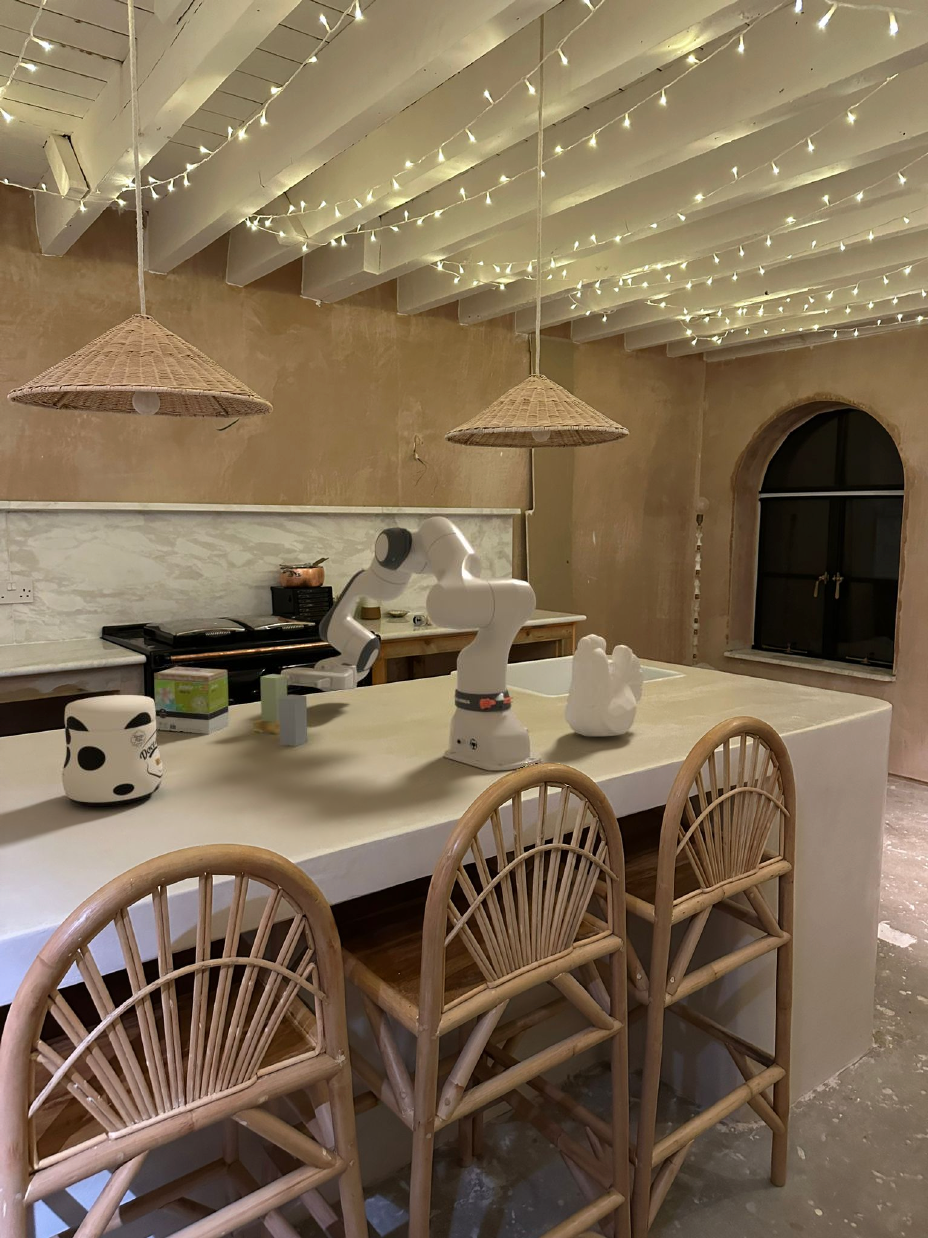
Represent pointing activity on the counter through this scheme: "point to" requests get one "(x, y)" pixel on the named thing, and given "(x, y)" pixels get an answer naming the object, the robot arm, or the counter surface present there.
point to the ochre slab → (266, 726)
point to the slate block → (293, 720)
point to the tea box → (191, 699)
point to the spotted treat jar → (111, 750)
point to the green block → (272, 696)
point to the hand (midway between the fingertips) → (300, 683)
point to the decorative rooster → (603, 689)
